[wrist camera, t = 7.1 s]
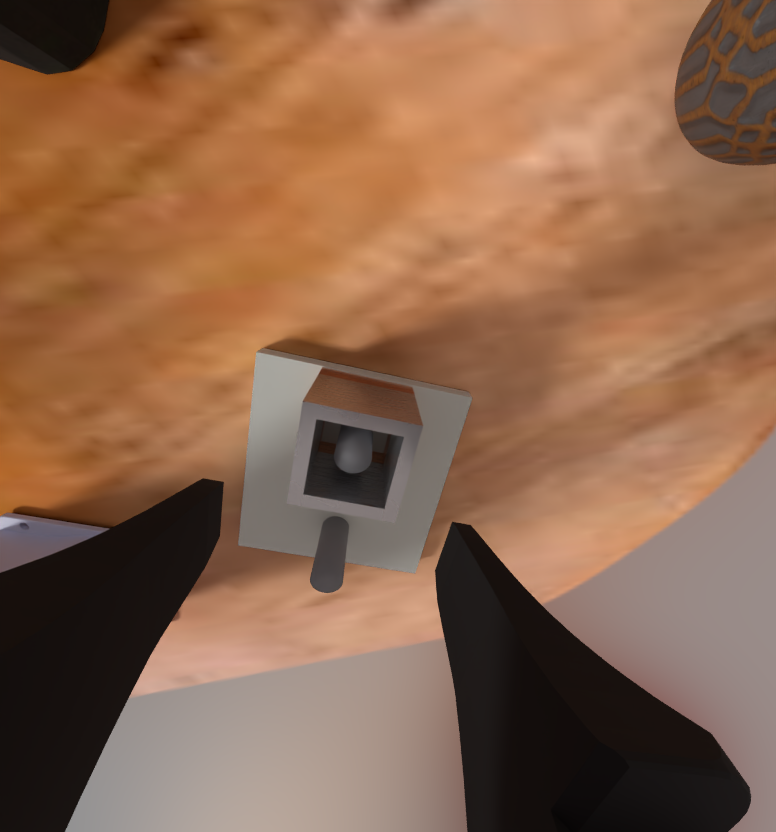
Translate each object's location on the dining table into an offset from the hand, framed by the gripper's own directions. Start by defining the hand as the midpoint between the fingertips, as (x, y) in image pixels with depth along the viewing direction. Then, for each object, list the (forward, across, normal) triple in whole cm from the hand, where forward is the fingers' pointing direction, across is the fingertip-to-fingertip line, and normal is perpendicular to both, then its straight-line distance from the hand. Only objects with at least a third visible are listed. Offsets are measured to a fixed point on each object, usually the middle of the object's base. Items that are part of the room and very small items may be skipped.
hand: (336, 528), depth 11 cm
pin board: (+9, 0, +3) cm, 10 cm away
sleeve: (+8, 0, 0) cm, 8 cm away
